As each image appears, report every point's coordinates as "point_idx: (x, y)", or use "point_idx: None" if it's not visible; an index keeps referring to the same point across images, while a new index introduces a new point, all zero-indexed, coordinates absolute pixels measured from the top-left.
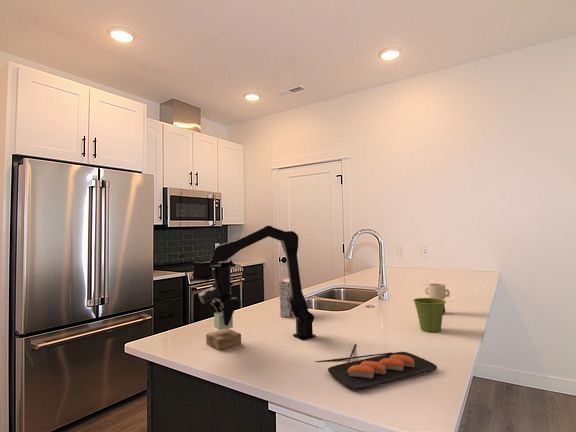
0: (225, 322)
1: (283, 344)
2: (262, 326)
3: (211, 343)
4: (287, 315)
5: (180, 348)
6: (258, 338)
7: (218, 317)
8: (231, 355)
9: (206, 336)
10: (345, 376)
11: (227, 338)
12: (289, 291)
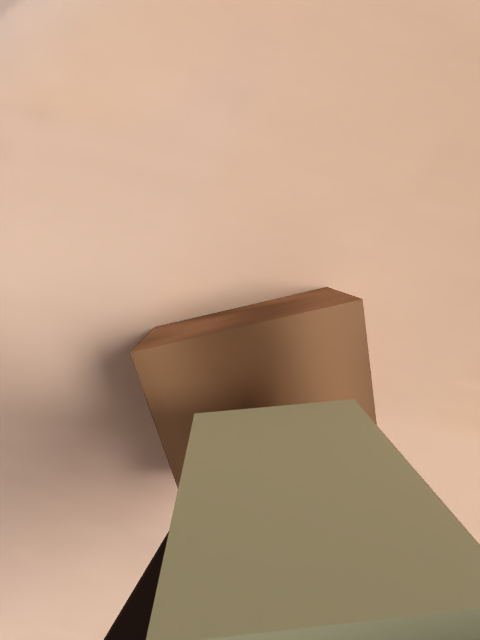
0: (160, 551)
1: (92, 621)
2: None
3: (253, 309)
4: None
5: (351, 78)
6: None
7: (195, 570)
8: (32, 372)
9: (345, 296)
10: None
11: (160, 424)
12: None
